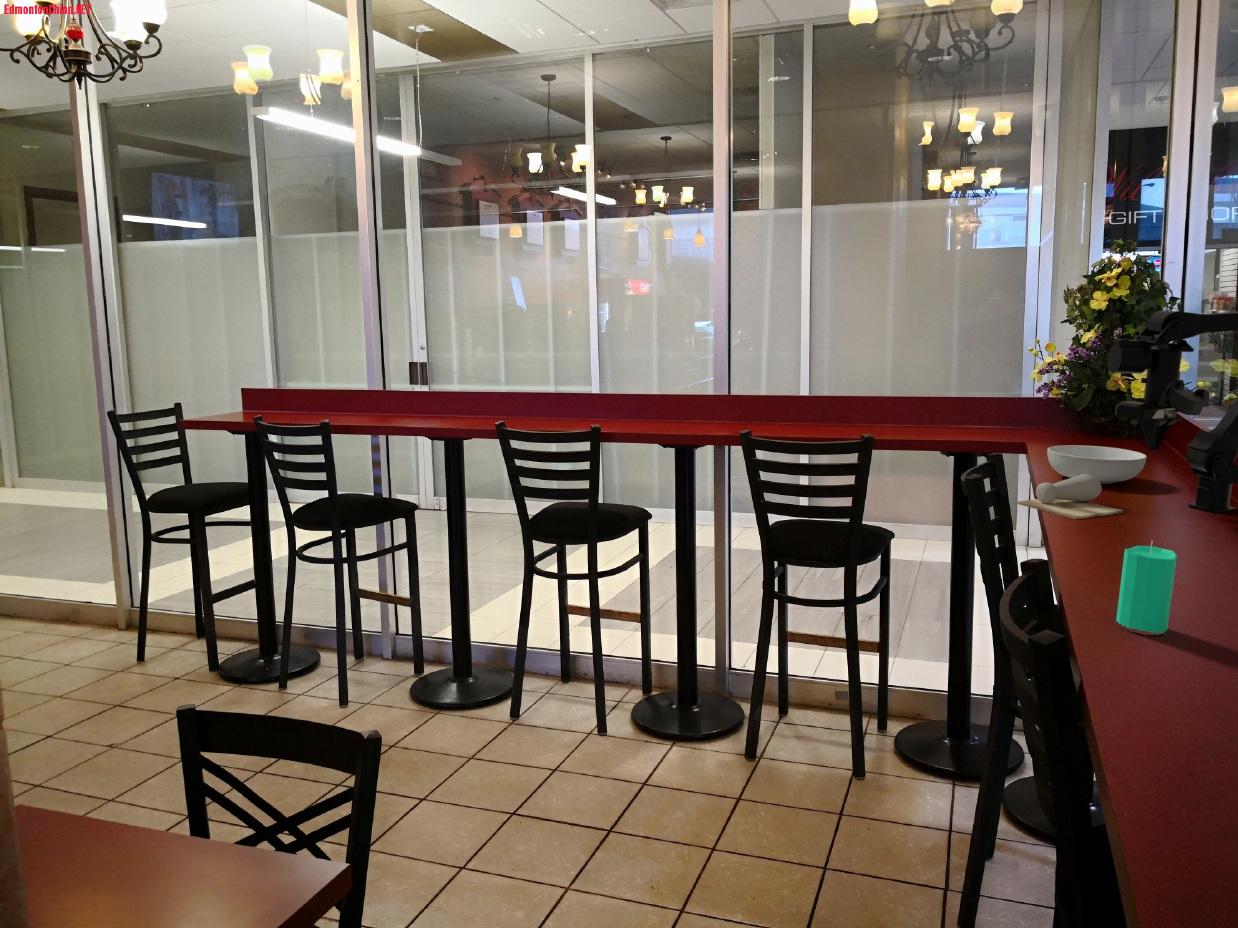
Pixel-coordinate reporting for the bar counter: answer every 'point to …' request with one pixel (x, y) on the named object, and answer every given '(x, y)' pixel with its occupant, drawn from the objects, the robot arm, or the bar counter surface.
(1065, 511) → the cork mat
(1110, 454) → the serving bowl
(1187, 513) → the bar counter surface
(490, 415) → the bar counter surface
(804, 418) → the bar counter surface
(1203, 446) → the robot arm
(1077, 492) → the salt shaker
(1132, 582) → the candle
